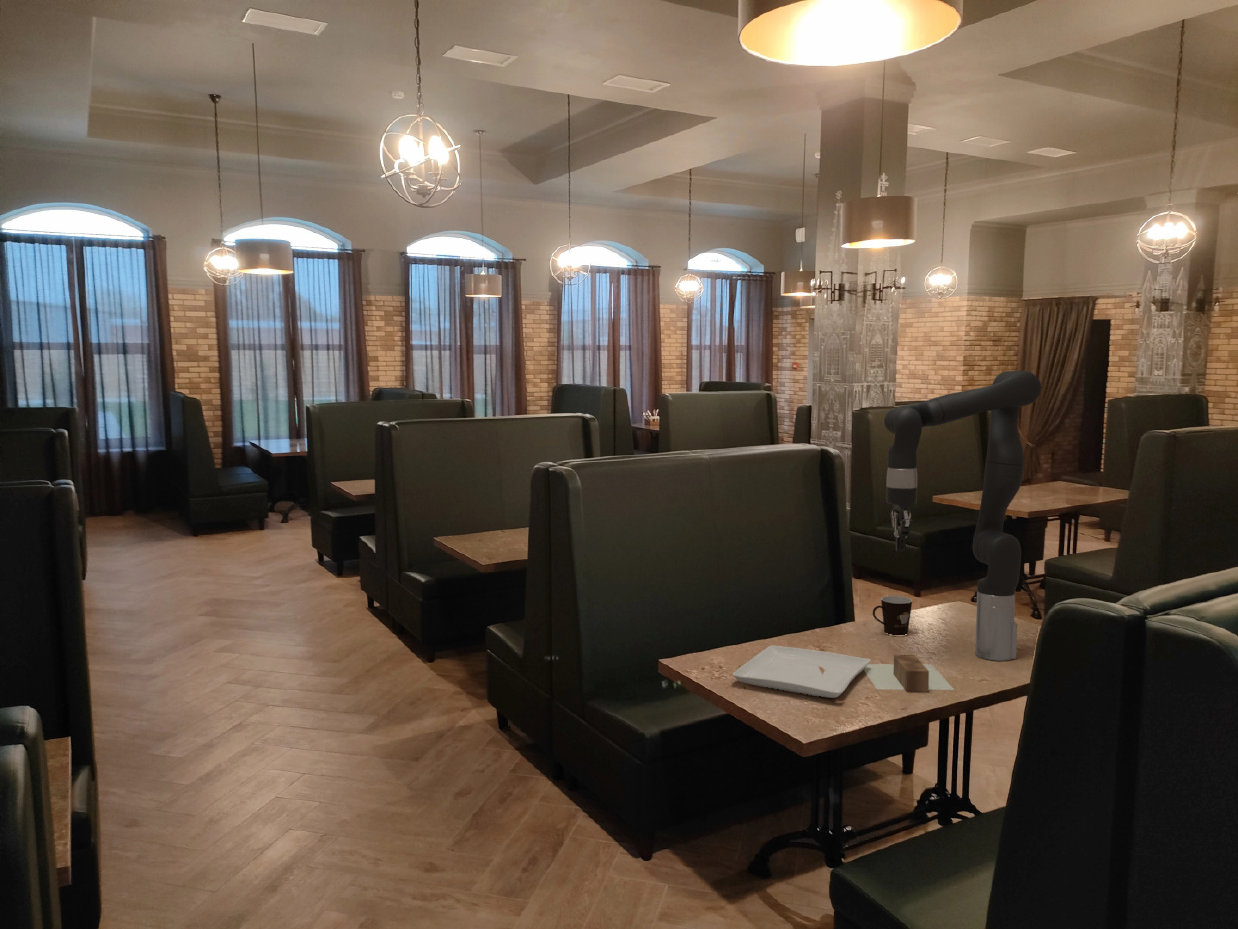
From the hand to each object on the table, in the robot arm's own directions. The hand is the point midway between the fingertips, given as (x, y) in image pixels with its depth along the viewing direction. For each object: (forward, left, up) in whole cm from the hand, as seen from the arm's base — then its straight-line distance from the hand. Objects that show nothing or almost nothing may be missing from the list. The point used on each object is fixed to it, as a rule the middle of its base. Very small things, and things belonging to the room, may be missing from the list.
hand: (900, 551), depth 224 cm
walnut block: (+2, +13, -26) cm, 29 cm away
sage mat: (+2, +14, -29) cm, 32 cm away
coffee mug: (-4, -24, -29) cm, 38 cm away
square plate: (+27, +14, -30) cm, 42 cm away
